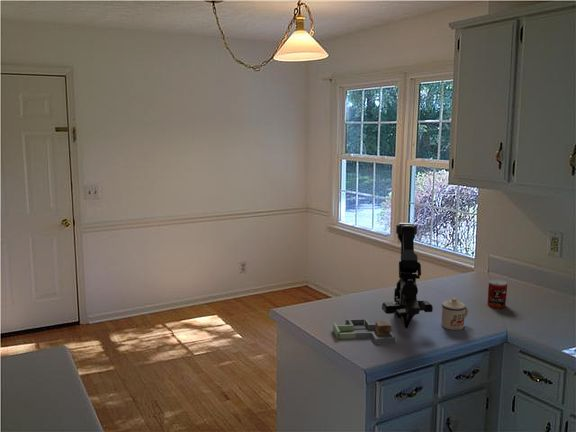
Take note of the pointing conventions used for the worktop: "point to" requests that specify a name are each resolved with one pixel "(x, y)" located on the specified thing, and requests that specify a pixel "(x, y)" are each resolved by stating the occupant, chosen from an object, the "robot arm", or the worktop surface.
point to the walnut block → (383, 327)
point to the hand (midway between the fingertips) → (406, 327)
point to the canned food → (497, 293)
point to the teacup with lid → (453, 314)
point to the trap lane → (359, 324)
